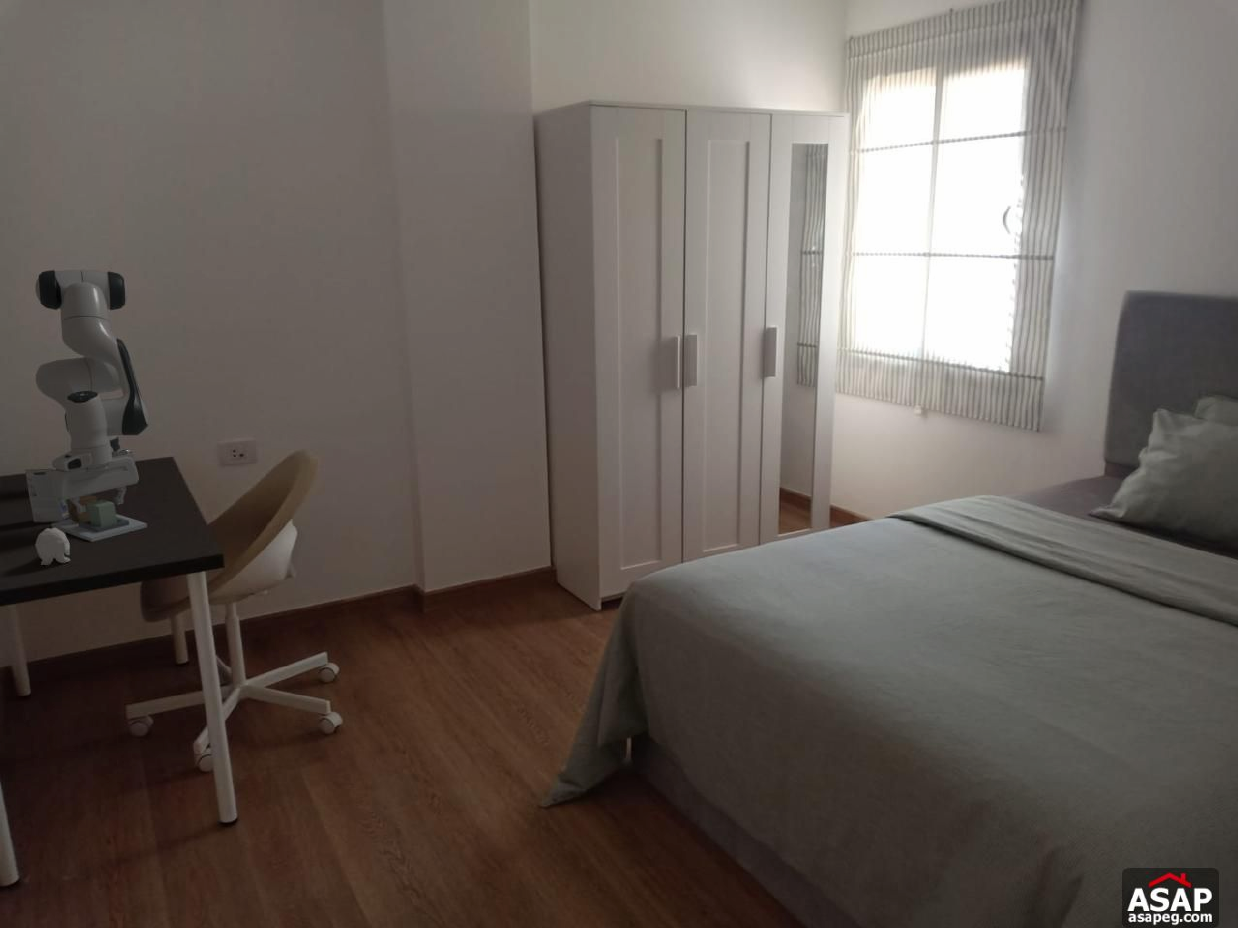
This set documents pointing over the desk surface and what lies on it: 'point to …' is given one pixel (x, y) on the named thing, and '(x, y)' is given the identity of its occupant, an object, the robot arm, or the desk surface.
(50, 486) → the ink box
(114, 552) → the desk surface
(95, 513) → the sage block
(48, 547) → the white animal figurine
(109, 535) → the board
